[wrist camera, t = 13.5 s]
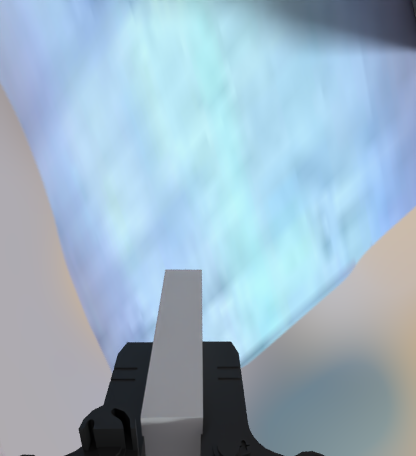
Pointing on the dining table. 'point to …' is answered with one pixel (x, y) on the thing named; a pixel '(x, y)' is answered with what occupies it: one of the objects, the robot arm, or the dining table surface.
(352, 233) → the dining table surface
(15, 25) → the dining table surface
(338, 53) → the dining table surface
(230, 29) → the dining table surface
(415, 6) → the liquor
